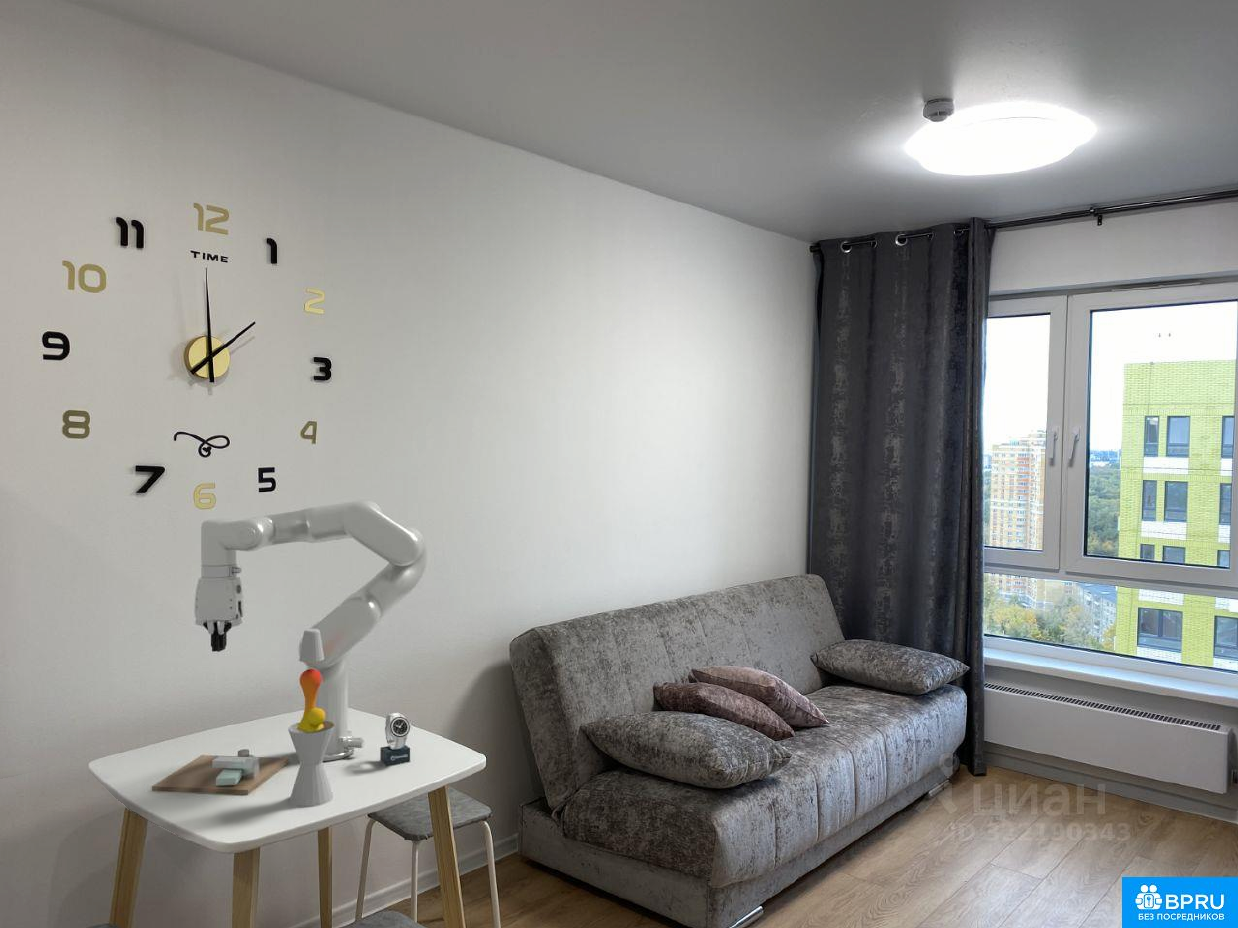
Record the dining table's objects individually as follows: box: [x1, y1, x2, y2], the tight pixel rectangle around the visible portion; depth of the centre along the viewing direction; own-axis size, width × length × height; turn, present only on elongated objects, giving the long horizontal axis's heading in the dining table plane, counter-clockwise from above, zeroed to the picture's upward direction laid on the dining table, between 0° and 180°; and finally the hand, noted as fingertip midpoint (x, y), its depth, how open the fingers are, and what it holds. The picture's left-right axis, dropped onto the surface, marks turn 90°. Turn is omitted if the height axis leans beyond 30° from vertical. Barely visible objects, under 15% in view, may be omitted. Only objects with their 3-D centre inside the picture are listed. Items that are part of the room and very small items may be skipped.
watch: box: [379, 712, 412, 767], centre depth 213 cm, size 6×8×11 cm
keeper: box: [212, 755, 259, 779], centre depth 200 cm, size 9×3×4 cm, turn 86°
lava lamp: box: [287, 628, 334, 808], centre depth 190 cm, size 9×9×35 cm
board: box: [151, 748, 290, 795], centre depth 203 cm, size 21×20×4 cm
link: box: [216, 754, 255, 786], centre depth 201 cm, size 15×4×2 cm, turn 7°
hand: (218, 650), depth 215 cm, fingers closed
